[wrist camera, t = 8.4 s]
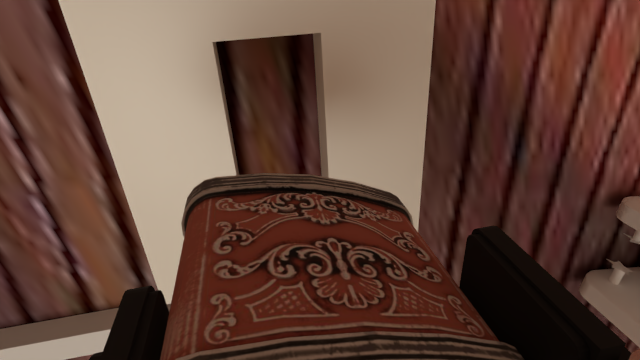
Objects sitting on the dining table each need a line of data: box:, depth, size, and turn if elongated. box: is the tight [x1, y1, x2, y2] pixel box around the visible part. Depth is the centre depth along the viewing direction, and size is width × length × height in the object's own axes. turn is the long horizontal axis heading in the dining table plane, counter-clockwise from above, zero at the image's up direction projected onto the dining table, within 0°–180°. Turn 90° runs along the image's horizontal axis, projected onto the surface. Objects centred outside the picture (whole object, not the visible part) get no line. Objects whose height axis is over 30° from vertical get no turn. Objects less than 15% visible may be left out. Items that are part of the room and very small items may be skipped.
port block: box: [58, 0, 436, 304], centre depth 22 cm, size 18×22×3 cm
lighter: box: [160, 173, 524, 360], centre depth 9 cm, size 8×3×10 cm, turn 78°
